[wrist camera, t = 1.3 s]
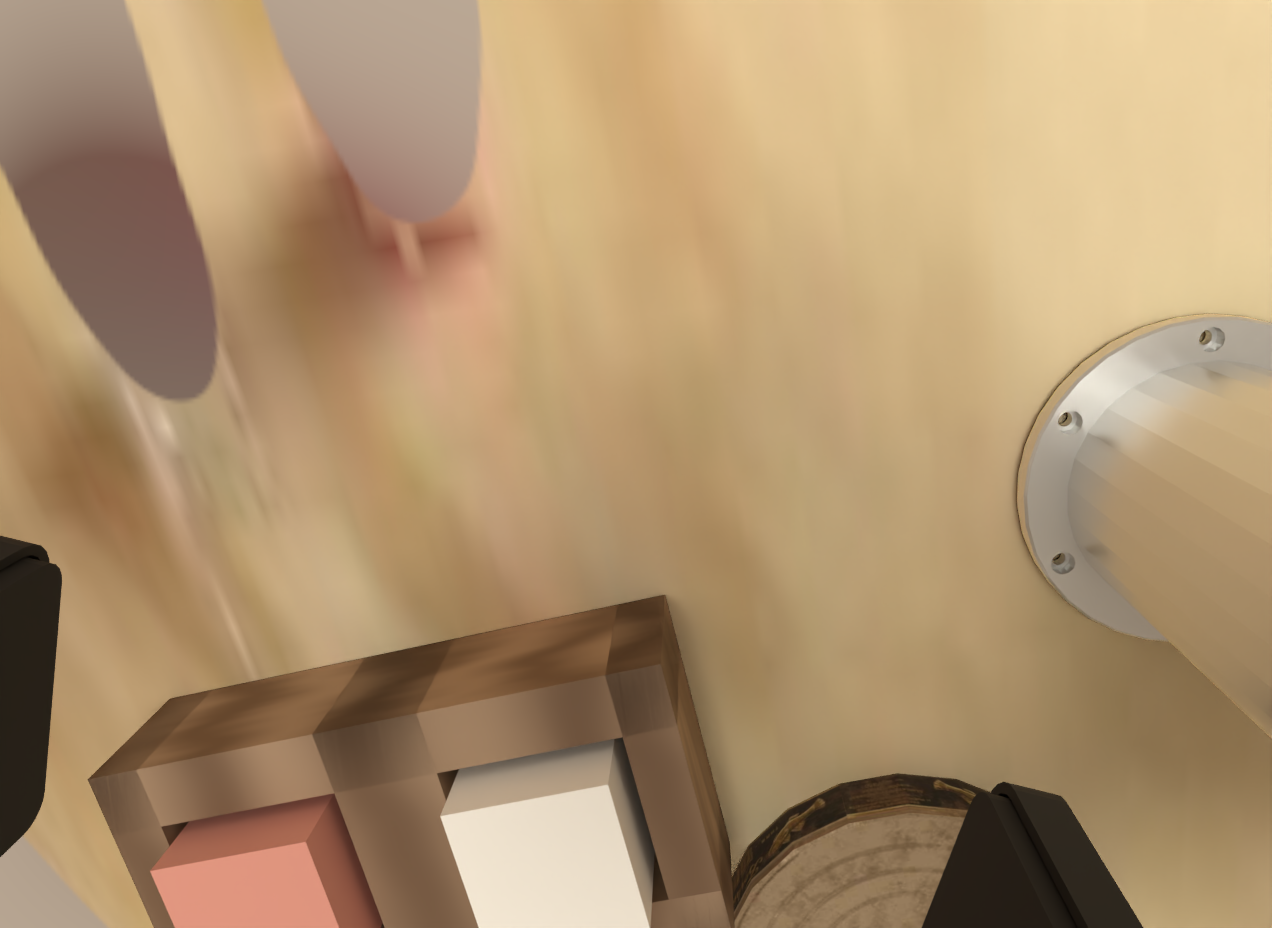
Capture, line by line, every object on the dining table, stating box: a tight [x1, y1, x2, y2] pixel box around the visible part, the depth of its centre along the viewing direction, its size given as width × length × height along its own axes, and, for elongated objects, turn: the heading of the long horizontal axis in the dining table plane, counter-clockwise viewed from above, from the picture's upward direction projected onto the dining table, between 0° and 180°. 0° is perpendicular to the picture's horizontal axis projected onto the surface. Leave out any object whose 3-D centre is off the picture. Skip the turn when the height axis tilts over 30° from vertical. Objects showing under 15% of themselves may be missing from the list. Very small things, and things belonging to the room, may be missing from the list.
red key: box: [150, 793, 383, 928], centre depth 38 cm, size 6×6×5 cm
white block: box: [440, 737, 655, 928], centre depth 37 cm, size 6×6×5 cm
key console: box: [88, 595, 735, 928], centre depth 40 cm, size 22×12×6 cm, turn 104°
